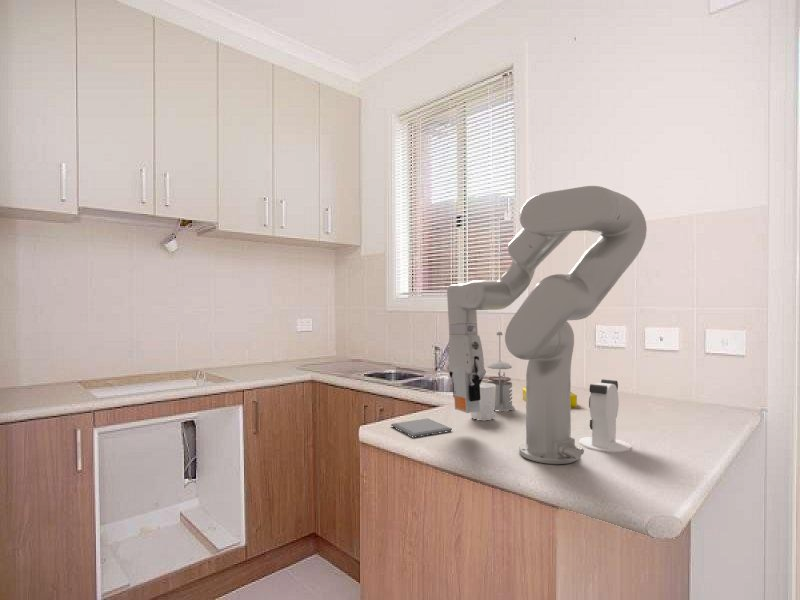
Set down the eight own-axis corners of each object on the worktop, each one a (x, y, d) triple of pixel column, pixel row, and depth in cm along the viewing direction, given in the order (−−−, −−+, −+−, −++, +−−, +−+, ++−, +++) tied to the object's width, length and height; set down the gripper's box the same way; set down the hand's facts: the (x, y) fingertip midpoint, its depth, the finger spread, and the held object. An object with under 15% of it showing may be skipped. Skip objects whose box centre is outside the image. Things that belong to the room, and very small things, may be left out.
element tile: (579, 408, 147) (578, 394, 147) (533, 408, 148) (533, 394, 148) (563, 399, 162) (562, 386, 162) (521, 399, 163) (521, 386, 163)
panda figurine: (588, 434, 117) (587, 376, 117) (636, 443, 110) (636, 381, 110) (572, 445, 108) (572, 383, 108) (624, 455, 101) (623, 388, 101)
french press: (512, 404, 152) (512, 330, 152) (518, 413, 140) (518, 332, 140) (483, 404, 153) (483, 330, 153) (486, 412, 141) (486, 332, 141)
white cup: (465, 419, 132) (465, 385, 132) (473, 414, 139) (473, 381, 139) (491, 423, 129) (491, 388, 129) (499, 416, 136) (498, 383, 136)
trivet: (451, 431, 120) (451, 428, 120) (413, 437, 114) (413, 434, 114) (427, 421, 131) (427, 418, 131) (391, 426, 125) (391, 423, 125)
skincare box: (454, 409, 120) (452, 364, 121) (467, 407, 122) (465, 363, 122) (466, 413, 114) (464, 366, 115) (480, 411, 116) (478, 364, 117)
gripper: (495, 329, 114) (499, 401, 113) (455, 330, 129) (458, 393, 128) (471, 330, 110) (475, 405, 109) (433, 331, 125) (436, 396, 124)
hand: (466, 398), depth 118 cm, fingers closed on skincare box, 6 cm apart
